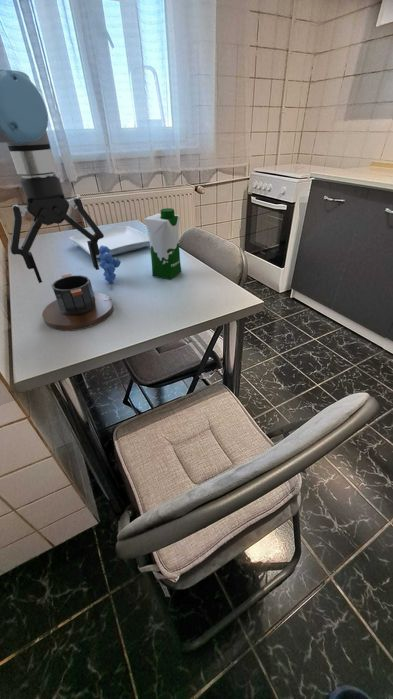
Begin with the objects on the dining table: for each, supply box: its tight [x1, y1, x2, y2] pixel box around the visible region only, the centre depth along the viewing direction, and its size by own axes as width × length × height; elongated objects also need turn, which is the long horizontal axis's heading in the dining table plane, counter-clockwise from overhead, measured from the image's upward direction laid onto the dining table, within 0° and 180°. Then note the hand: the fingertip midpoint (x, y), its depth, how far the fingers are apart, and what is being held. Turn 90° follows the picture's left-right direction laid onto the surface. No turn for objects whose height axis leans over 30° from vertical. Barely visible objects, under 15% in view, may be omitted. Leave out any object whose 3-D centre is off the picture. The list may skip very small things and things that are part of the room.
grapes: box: [98, 245, 122, 283], centre depth 91 cm, size 12×7×12 cm, turn 23°
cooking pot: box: [51, 273, 96, 315], centre depth 76 cm, size 9×13×7 cm
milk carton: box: [143, 207, 182, 281], centre depth 92 cm, size 9×9×20 cm
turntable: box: [41, 291, 115, 331], centre depth 79 cm, size 18×18×2 cm
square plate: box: [68, 225, 150, 259], centre depth 122 cm, size 27×27×4 cm
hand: (69, 274), depth 73 cm, fingers open, 13 cm apart
